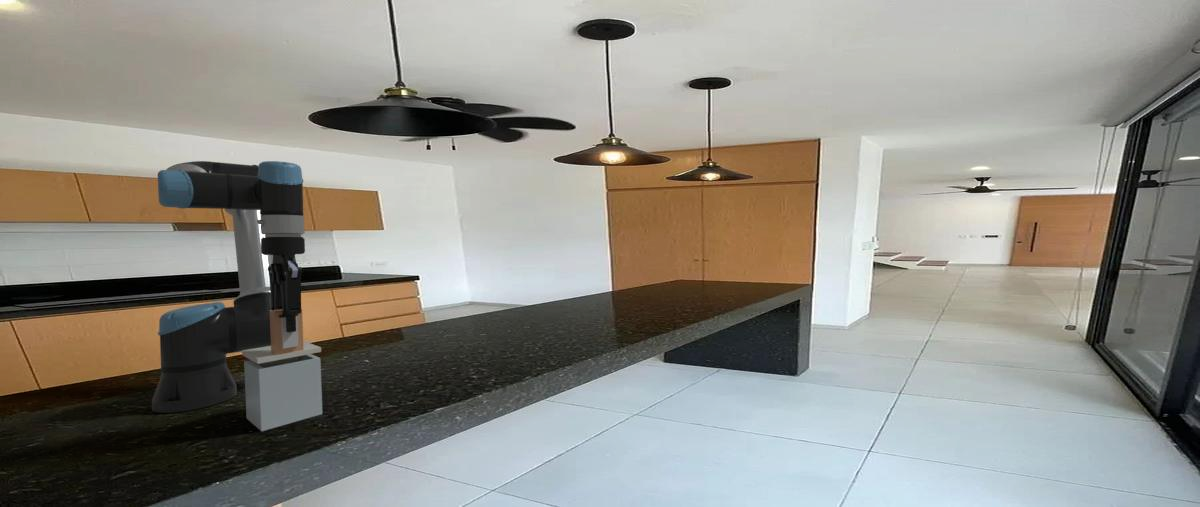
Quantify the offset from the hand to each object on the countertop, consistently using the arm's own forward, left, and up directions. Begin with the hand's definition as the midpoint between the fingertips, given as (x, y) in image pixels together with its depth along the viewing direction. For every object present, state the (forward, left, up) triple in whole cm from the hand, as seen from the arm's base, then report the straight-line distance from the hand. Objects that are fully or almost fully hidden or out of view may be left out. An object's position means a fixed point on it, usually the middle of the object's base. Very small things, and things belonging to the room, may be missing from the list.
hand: (287, 345), depth 93 cm
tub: (-3, 0, -16) cm, 17 cm away
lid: (-4, 0, -2) cm, 4 cm away
